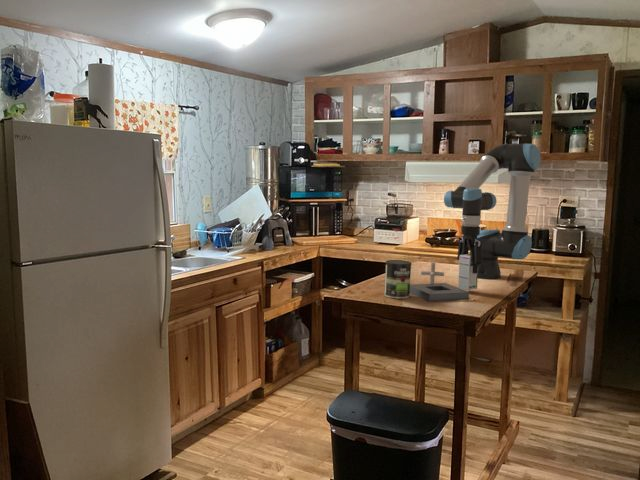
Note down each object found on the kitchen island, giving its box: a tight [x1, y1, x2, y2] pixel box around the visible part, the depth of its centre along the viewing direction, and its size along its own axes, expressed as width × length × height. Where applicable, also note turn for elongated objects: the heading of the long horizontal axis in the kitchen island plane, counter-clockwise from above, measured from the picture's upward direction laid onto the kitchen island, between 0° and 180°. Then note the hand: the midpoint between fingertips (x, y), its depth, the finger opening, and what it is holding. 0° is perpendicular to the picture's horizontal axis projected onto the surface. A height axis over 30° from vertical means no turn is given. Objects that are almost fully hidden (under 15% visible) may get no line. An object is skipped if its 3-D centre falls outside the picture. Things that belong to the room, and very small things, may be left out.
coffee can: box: [384, 259, 412, 300], centre depth 223 cm, size 10×10×14 cm
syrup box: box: [457, 253, 479, 291], centre depth 233 cm, size 6×6×14 cm
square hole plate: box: [410, 282, 470, 303], centre depth 226 cm, size 18×18×3 cm
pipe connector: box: [420, 261, 445, 284], centre depth 247 cm, size 10×10×10 cm
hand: (468, 278), depth 234 cm, fingers closed on syrup box, 7 cm apart
